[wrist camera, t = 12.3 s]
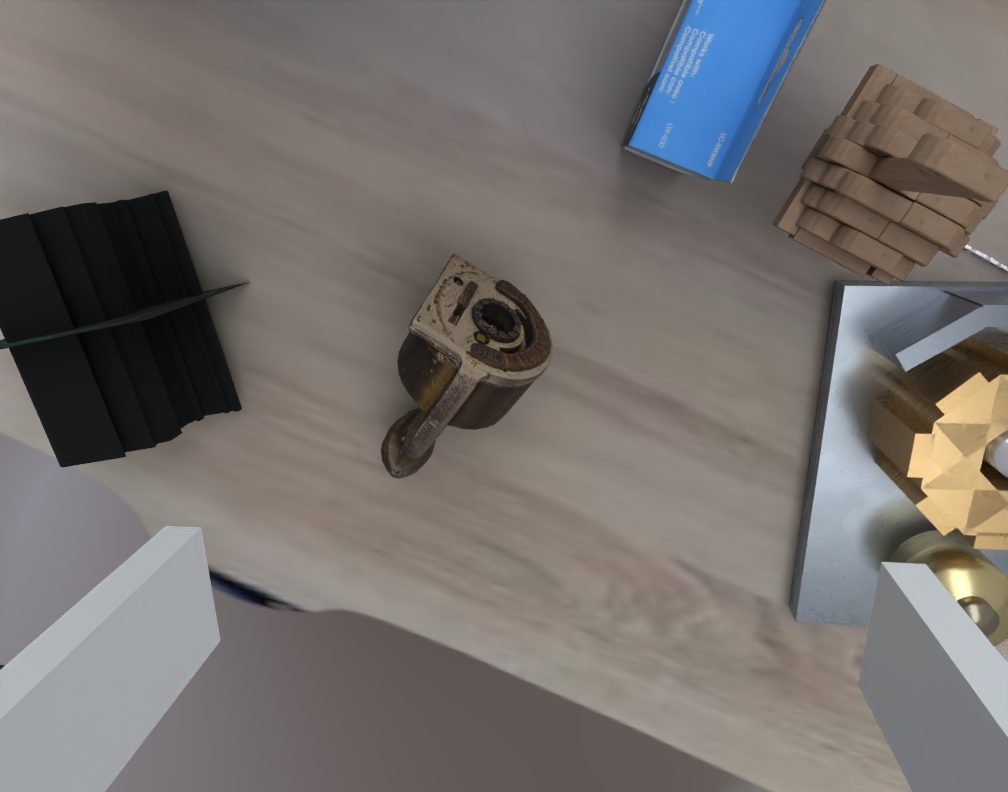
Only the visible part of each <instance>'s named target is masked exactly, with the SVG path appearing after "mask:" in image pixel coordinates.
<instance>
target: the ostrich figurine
mask: <svg viewBox="0 0 1008 792" xmlns="http://www.w3.org/2000/svg"><path fill="white" fill-rule="evenodd" d="M997 131H998V128H996V127H994V126H992V125H990V124H989V123H987V122H985V121H983V120H981V119H975V118H974V115H972V114H971V113H969V112H967V111H965V110H963V109H961V108H960V107H958V106H956V105H954V104H952V103H950V102H949V101H947V100H945V99H943V98H941V97H939V96H938V95H936V94H934V93H932V92H930V91H928V90H927V89H925V88H923V87H921V86H919V85H917V84H916V83H914V82H912V81H910V80H908V79H906V78H905V77H903V76H901V75H899V74H898V75H897V73H895V72H893V71H891V70H889V69H887V68H885V67H884V66H882V65H880V64H877V65H874V66H871V67H870V68H869V70H868V71H867V73H866V74H865V76H864V78H863V79H862V81H861V82H860V84H859V86H858V87H857V89H856V90H855V92H854V94H853V95H852V97H851V98H850V100H849V102H848V103H847V105H846V107H845V108H844V110H843V111H842V113H841V115H839V116H837V117H836V118H835V120H834V122H833V123H832V125H831V126H830V127H829V128H827V129H825V130H824V132H823V134H822V135H821V137H820V138H819V140H818V142H817V143H816V145H815V146H814V149H813V150H812V151H811V153H810V155H809V156H808V158H807V159H806V161H805V163H804V164H803V166H802V169H803V171H802V173H801V178H800V180H799V182H798V184H797V185H796V187H795V188H794V190H793V192H792V193H791V195H790V197H789V198H788V200H787V201H786V203H785V205H784V206H783V208H782V209H781V211H780V213H779V214H778V216H777V217H776V219H775V221H774V222H773V225H774V226H776V227H778V228H779V229H781V230H783V231H785V232H787V233H789V236H788V237H789V238H791V239H793V240H795V241H797V242H798V243H800V244H802V245H804V246H806V247H808V248H810V249H812V250H814V251H815V252H817V253H819V254H821V255H823V256H825V257H827V258H829V259H830V260H832V261H834V262H835V263H837V264H839V265H841V266H843V267H845V268H847V269H849V270H851V271H853V272H855V273H857V274H859V275H862V276H864V275H865V274H867V275H869V276H871V277H873V278H874V279H876V280H878V281H880V282H882V283H885V284H887V285H889V283H890V282H891V281H892V279H893V278H896V279H898V280H900V281H903V280H904V279H905V278H906V276H907V275H908V274H909V272H910V271H911V269H912V268H913V267H914V265H915V263H916V264H918V265H920V266H923V267H924V266H927V265H928V264H929V262H930V261H931V259H932V258H933V257H934V255H935V254H936V253H937V251H938V250H940V251H942V252H944V253H946V254H948V255H950V256H952V257H958V255H959V254H960V253H961V251H962V250H963V248H966V249H967V250H971V249H972V247H970V246H968V245H966V244H967V243H968V242H969V237H968V236H969V235H970V234H971V233H972V232H973V231H974V229H975V228H976V227H977V225H978V224H979V222H980V221H981V220H982V219H985V218H986V217H987V216H988V214H989V213H990V212H991V210H992V209H993V208H994V206H995V205H996V204H997V202H998V199H999V197H1000V196H1001V195H1002V193H1003V192H1004V191H1005V189H1006V188H1007V186H1008V171H1007V170H1005V169H1003V168H1001V167H1000V166H999V162H998V161H997V160H996V159H994V158H993V157H992V156H993V155H994V153H995V152H996V150H997V149H998V148H999V146H1000V144H1001V143H1000V140H999V139H998V138H997V137H995V136H994V135H995V134H996V132H997ZM971 252H972V253H975V254H978V256H980V257H983V258H984V259H985V260H988V261H989V262H991V263H992V264H994V265H998V264H999V262H997V261H995V260H993V258H992V257H987V255H985V254H983V253H981V252H979V251H978V250H975V249H972V251H971ZM914 262H915V263H914ZM998 267H999V268H1003V269H1004V270H1005V271H1008V267H1007V266H1005V265H1003V264H999V266H998Z"/></svg>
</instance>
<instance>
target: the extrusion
mask: <svg viewBox="0 0 1008 792" xmlns="http://www.w3.org/2000/svg"><path fill="white" fill-rule="evenodd" d="M248 283H249V282H248ZM243 284H246V283H243ZM243 284H238V285H233V286H229V287H224V288H219V289H214V290H209V291H205V292H202V290H201V287H200V284H199V281H198V278H197V275H196V272H195V269H194V266H193V263H192V260H191V257H190V254H189V251H188V248H187V246H186V243H185V240H184V237H183V234H182V231H181V228H180V225H179V222H178V219H177V216H176V213H175V210H174V207H173V204H172V202H171V199H170V196H169V193H168V191H162V192H160V193H156V194H150V195H147V196H143V197H139V198H135V199H131V200H119V201H117V202H111V203H103V204H97V203H85V204H78V205H74V206H69V207H59V208H55V209H51V210H47V211H43V212H39V213H35V214H30V215H29V213H27V214H22V215H18V216H14V217H10V218H6V219H2V220H0V328H1V331H2V333H3V335H4V338H5V339H3V340H0V349H5V348H9V349H10V352H11V354H12V356H13V358H14V361H15V363H16V365H17V368H18V370H19V372H20V375H21V377H22V379H23V381H24V384H25V386H26V388H27V391H28V393H29V395H30V398H31V400H32V402H33V405H34V407H35V409H36V411H37V414H38V416H39V418H40V421H41V423H42V425H43V428H44V430H45V432H46V435H47V437H48V439H49V441H50V444H51V446H52V448H53V451H54V453H55V455H56V458H57V460H58V462H59V464H60V467H68V466H74V465H80V464H86V463H92V462H98V461H104V460H110V459H116V458H122V457H126V455H125V452H129V451H135V450H141V449H147V448H153V447H156V445H157V444H158V443H162V442H166V441H170V440H172V439H174V438H175V437H177V436H178V435H180V434H181V433H182V431H181V428H182V427H184V426H185V425H187V424H188V423H191V422H193V421H195V420H197V421H200V420H202V419H203V418H204V416H206V415H212V414H217V413H223V412H225V413H229V411H235V412H236V411H240V410H241V409H242V407H241V404H240V401H239V398H238V395H237V392H236V389H235V386H234V383H233V381H232V378H231V375H230V372H229V369H228V366H227V363H226V360H225V357H224V354H223V351H222V348H221V345H220V342H219V339H218V337H217V334H216V331H215V328H214V325H213V322H212V319H211V316H210V313H209V310H208V307H207V304H206V301H205V298H208V297H211V296H213V295H216V294H219V293H222V292H224V291H227V290H230V289H232V288H235V287H238V286H241V285H243Z"/></svg>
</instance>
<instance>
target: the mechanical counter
mask: <svg viewBox="0 0 1008 792" xmlns="http://www.w3.org/2000/svg"><path fill="white" fill-rule="evenodd" d="M409 331H410V333H409V335H408V336H407V338H406V339H405V341H404V342H403V345H402V347H401V349H400V351H399V356H398V361H397V362H398V372H399V376H400V379H401V381H402V384H403V385H404V387H405V389H406V390H407V392H408V393H409V394H410V396H411V397H412V398H413V399H414V400H415V402H416V403H417V404H418V405H419V406H420V409H415V410H411V411H409V412H408V413H407V414H406V415H404V416H403V417H401V418H400V419H398V420H397V421H396V422H395V423H394V424H393V425H392V426H391V427H390V429H389V431H388V433H387V435H386V437H385V439H384V441H383V443H382V448H381V454H382V461H383V464H384V466H385V468H386V470H387V471H388V472H389V473H390V475H391V476H392V477H395V478H403V477H407V476H409V475H412V474H414V473H415V472H417V471H418V470H419V469H420V468H421V467H422V466H423V465H424V464H425V463H426V462H427V461H428V459H429V458H430V456H431V454H432V451H433V448H434V444H435V440H436V438H437V437H438V436H439V434H440V433H441V432H442V431H443V429H444V428H445V427H446V426H447V425H449V426H453V427H457V428H461V429H473V430H476V429H481V428H486V427H489V426H491V425H494V424H495V423H496V422H498V421H499V420H500V419H501V418H502V417H503V416H504V415H505V414H506V413H507V412H508V411H509V410H510V409H511V407H512V406H513V405H514V404H515V403H516V402H517V400H518V399H519V398H520V397H521V396H522V395H523V393H524V392H525V391H526V390H527V389H528V388H529V386H530V385H531V384H532V383H533V382H534V380H535V379H537V378H538V377H539V376H540V375H542V373H543V372H544V371H545V369H546V368H547V367H548V365H549V362H550V359H551V356H552V340H551V335H550V332H549V330H548V328H547V326H546V324H545V322H544V320H543V319H542V317H541V315H540V314H539V312H538V311H537V310H536V309H535V307H534V306H533V304H532V303H531V302H530V300H529V299H528V298H527V297H526V295H524V294H522V293H521V292H520V291H519V290H518V289H517V288H516V287H515V286H513V285H512V284H511V283H509V282H507V281H504V280H500V281H499V280H497V279H495V278H493V277H492V276H490V275H488V274H487V273H485V272H484V271H482V270H480V269H479V268H477V267H476V266H474V265H472V264H471V263H469V262H468V261H466V260H465V259H463V258H461V257H460V256H458V255H457V254H453V255H452V256H451V258H450V260H449V261H448V263H447V265H446V266H445V268H444V270H443V272H442V273H441V275H440V277H439V279H438V281H437V282H436V284H435V286H434V287H433V289H432V290H431V292H430V293H429V295H428V296H427V298H426V299H425V301H424V302H423V304H422V305H421V307H420V308H419V310H418V311H417V313H416V314H415V316H414V317H413V319H412V321H411V323H410V325H409Z"/></svg>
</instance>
